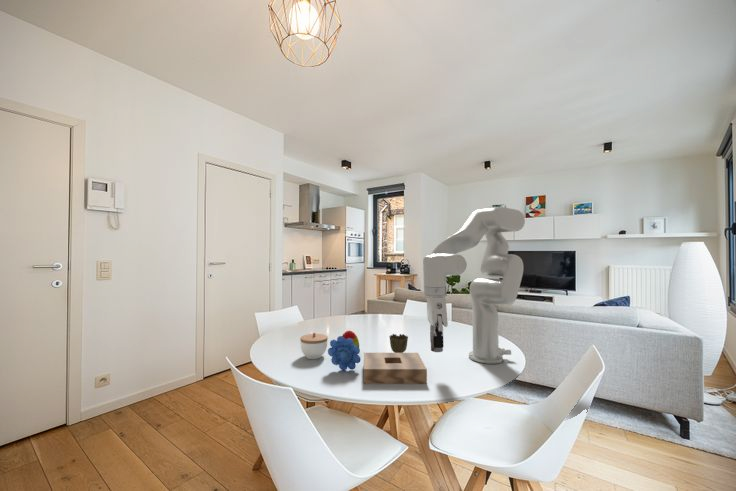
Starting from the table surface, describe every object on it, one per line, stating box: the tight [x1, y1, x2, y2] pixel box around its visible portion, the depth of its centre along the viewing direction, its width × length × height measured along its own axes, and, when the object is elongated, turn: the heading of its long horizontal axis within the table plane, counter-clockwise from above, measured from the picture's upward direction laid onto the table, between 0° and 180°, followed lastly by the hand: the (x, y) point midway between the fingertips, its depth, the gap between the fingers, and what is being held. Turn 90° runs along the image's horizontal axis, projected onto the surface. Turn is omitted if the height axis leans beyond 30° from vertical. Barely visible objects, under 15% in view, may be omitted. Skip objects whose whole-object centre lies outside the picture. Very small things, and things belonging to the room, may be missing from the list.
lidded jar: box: [299, 332, 329, 360], centre depth 120 cm, size 11×11×9 cm
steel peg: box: [429, 325, 444, 353], centre depth 102 cm, size 4×4×8 cm
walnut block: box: [363, 352, 428, 385], centre depth 103 cm, size 20×16×4 cm
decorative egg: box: [341, 330, 360, 348], centre depth 121 cm, size 8×8×10 cm
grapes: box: [327, 335, 361, 371], centre depth 105 cm, size 12×7×12 cm, turn 90°
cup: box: [389, 333, 409, 353], centre depth 121 cm, size 8×7×8 cm
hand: (436, 344), depth 102 cm, fingers closed on steel peg, 4 cm apart
